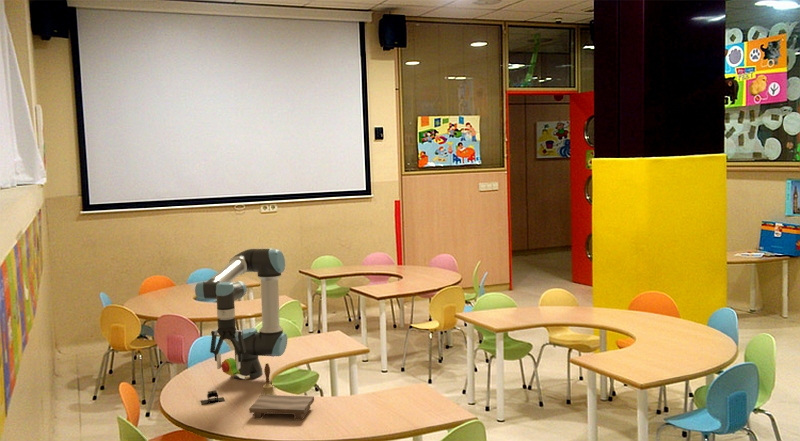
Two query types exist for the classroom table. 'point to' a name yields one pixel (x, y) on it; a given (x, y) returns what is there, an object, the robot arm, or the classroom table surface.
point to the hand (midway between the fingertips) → (228, 368)
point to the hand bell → (267, 383)
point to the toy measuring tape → (232, 368)
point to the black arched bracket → (212, 400)
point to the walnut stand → (282, 405)
